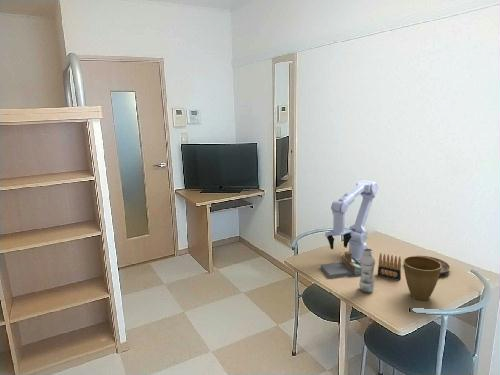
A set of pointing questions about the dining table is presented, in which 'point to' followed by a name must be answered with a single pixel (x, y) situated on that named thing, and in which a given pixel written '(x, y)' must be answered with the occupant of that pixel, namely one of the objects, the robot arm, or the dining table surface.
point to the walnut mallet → (348, 260)
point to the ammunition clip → (389, 267)
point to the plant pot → (421, 276)
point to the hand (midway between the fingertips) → (338, 248)
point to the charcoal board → (336, 270)
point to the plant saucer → (444, 267)
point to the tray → (357, 272)
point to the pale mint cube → (357, 266)
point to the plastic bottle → (367, 271)
